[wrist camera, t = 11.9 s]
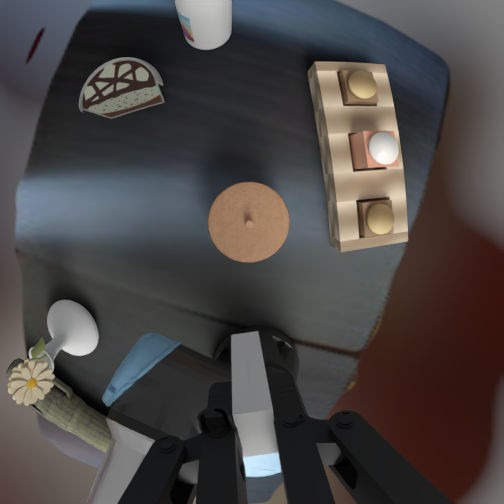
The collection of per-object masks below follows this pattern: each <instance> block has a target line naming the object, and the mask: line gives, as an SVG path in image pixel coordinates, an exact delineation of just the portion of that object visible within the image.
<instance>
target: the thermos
mask: <svg viewBox="0 0 504 504" xmlns="http://www.w3.org/2000/svg"><path fill="white" fill-rule="evenodd" d="M20 363H23V364H24V360H22V359H19V358H18V359H16V360H14V361H13V362H12V363H11V364H10V366H9V368H8V370H7V376H6V378H7V380H8V381H9V382H11V381H10V380H9V377H10V376H11V374H12V373H13V372H12V369H13V368H14V367H18V365H19V364H20ZM51 382H53V383H54V386H53V387H52V388H50V391H49V392H48V393H47V394H44V396H45V397H44V399H42V400H40V399H39V398H37V401H36V402H35V403H34V404H29V405H28V406H29V407H31V408H32V409H33V410H35V411H36V412H37V413H39V414H40V415H41V416H43V417H44V418H45V419H47V420H48V421H50V422H52V423H53V424H55V425H58V426H59V427H61V428H62V429H64V430H65V431H69V432H72V433H73V434H75V435H76V436H78V437H79V438H81V439H83V440H84V441H86V442H88V443H89V444H91V445H93V446H94V447H96V448H98V449H100V450H101V451H103V452H105V453H106V451H107V449H108V446H109V444H110V441H111V439H112V434H111V431H110V428H109V426H108V424H107V421H106V418H107V417H106V416H104V415H103V414H101V413H99V412H98V411H96V410H95V409H93V408H91V407H90V406H88V405H87V404H86V403H85V402H84V401H83V399H81V398H80V397H78V396H77V395H75V394H74V393H73V391H72V388H71V387H69V386H67V385H66V384H64V383H63V382H62V381H60V380H59V379H58V378H57V377H55V378H54V379H52V381H51Z"/></svg>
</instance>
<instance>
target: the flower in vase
mask: <svg viewBox="0 0 504 504" xmlns="http://www.w3.org/2000/svg"><path fill="white" fill-rule="evenodd" d="M47 325H48V329H49V332H50V335H51V337H52V340H51V341H50V342H49V343H48V344H46V345H45V342H44V339H43V337H41V339H40V340H39V342H38V343H37V344H36V345H35V346H34V347H32V348H31V349H30V350H29V358H30V360H29V359H26V360H25V361H24V364H23V363H20V364H19V365H18V367H14V368H13V369H12V372H13V373H12V374H11V376H10V377H9V380H10V381H11V382H9V383H8V392H9V393H10V394H14V395H13V399H14V400H16V402H17V404H20V403H22V402H23V401H24V404H25V405H26V406H28V405H29V404H34V403H35V402H36V401H37V398H39V399H40V400H42V399H44V397H45V396H44V394H47V393H48V392H49V391H50V388H52V387H53V386H54V383H53V382H51V381H52V379H54V378H55V375H54V374H52V373H53V371H54V359H55V357H56V355H57V353H58V352H59V351H60V350H61V349H63V350H64V351H66V352H68V353H70V354H72V355H77V356H82V355H86V354H89V353H91V352H92V351H93V350H94V349H95V348H96V346H97V344H98V339H99V335H98V329H97V325H96V323H95V321H94V319H93V317H92V316H91V314H90V313H89V312H88V311H87V310H86V309H85V308H84V307H83V306H81V305H80V304H78V303H76V302H74V301H71V300H60V301H57V302H55V303H54V304H53V305H52V306H51V308H50V310H49V313H48V316H47Z"/></svg>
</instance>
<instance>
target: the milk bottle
mask: <svg viewBox="0 0 504 504" xmlns="http://www.w3.org/2000/svg"><path fill="white" fill-rule="evenodd" d="M175 5H176V9H177V13H178V16H179V20H180V23H181V26H182V29H183V33H184V36H185V38H186V40H187V42H188V43H189V44H190V45H191V46H193V47H195V48H197V49H202V50H210V49H214V48H217V47H219V46H221V45H223V44H224V43H225V42H226V41H227V40H228V39H229V37H230V35H231V29H232V0H175Z"/></svg>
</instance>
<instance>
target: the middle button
mask: <svg viewBox="0 0 504 504" xmlns="http://www.w3.org/2000/svg"><path fill="white" fill-rule="evenodd" d="M349 137H350V143H351V150H352V158H353V166H354V169H362V168H377V167H392V166H399V162H398V152H399V148H398V144H397V141H396V140H395V133H394V131H362V132H359V133H356V134H354V135H351V136H349Z"/></svg>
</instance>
